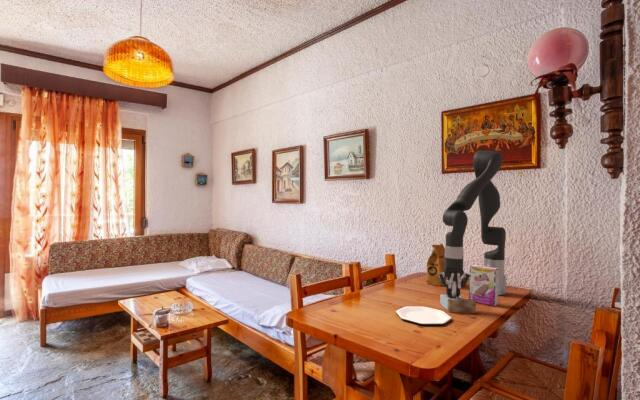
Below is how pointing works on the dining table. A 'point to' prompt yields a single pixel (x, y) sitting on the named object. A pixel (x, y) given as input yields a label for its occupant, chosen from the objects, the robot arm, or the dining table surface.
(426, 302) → the dining table surface
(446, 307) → the block
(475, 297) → the candy bar box
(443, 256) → the coffee package
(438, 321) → the plate
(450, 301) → the wall
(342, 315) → the dining table surface
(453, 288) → the dowel
